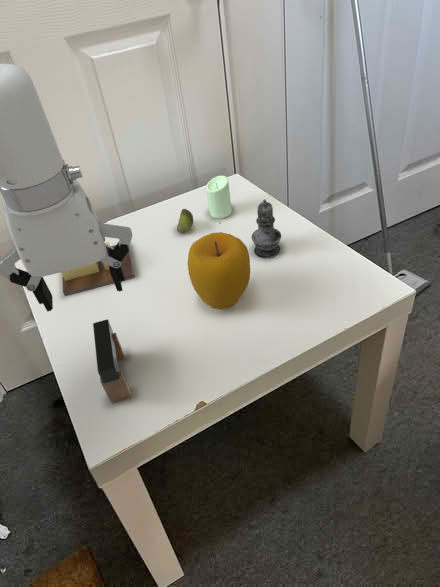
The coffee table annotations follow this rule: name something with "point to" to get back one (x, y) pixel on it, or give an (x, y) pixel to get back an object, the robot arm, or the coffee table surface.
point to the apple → (219, 269)
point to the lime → (185, 221)
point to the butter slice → (104, 263)
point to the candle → (219, 197)
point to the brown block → (118, 387)
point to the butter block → (81, 271)
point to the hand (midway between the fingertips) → (84, 294)
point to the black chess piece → (266, 233)
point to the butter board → (97, 277)
